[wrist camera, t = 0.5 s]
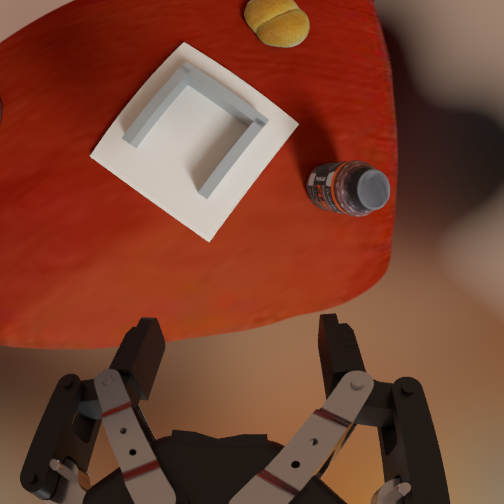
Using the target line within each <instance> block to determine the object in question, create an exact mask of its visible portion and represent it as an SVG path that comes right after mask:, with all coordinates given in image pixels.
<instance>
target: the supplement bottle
mask: <svg viewBox="0 0 504 504" xmlns="http://www.w3.org/2000/svg"><path fill="white" fill-rule="evenodd" d="M306 188H307V193H308V196H309V198H310V200H311V201H312V203H313V204H314V205H316V206H317V207H319V208H321V209H324V210H328V211H333V212H337V213H342V214H346V215H350V216H365V215H368V214H369V213H371V212H372V211H374V210H377V209H380V208H382V207H383V206H384V205H385V204H386V202H387V201H388V199H389V195H390V185H389V181H388V179H387V177H386V176H385V175H384V174H383V173H382V172H381V171H379V170H377V169H375V168H374V167H373V166H371V165H370V164H368V163H366V162H363V161H357V160H354V161H345V162H337V163H329V164H323V165H320V166H318V167H316V168H315V169H313V170H312V172H311V173H310V175H309V177H308V180H307V185H306Z"/></svg>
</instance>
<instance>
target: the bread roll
mask: <svg viewBox="0 0 504 504" xmlns="http://www.w3.org/2000/svg"><path fill="white" fill-rule="evenodd" d="M244 17H245V20H246V22H247V24H248V25H249V27H250V28H251V29H252V30H253V31H254V32H255V33H256V35H257V36H258V38H259V39H260V40H261V41H262V42H263V43H264V44H266V45H270V46H276V47H294V46H296V45H298V44H300V43H301V42H302V41H303V40H304V39H305V38H306V36H307V35H308V32H309V27H310V26H309V20H308V17H307V15H306V14H305V13H304V12H303V11H302V10H301V9H300V8H299V7H298V6H297V5H296V3H295V2H294V1H293V0H251V1H249V2H248V3H247V6H246V8H245V11H244Z"/></svg>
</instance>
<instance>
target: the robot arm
mask: <svg viewBox="0 0 504 504" xmlns="http://www.w3.org/2000/svg"><path fill="white" fill-rule="evenodd" d="M1 116H2V104H1V101H0V121H1ZM318 349H319V356H320V361H321V368H322V374H323V381H324V387H325V393H326V402H325V403H324V404H323V406H322V407H321V408H320V409H319V410H318V409H317V410H315V411H314V412H313V413H312V415H311V416H310V417H309V418H308V419H307V421H306V422H305V423H304V425H303V426H302V427H301V428H300V429H299V430H298V432H297V433H296V434H295V435H294V437H293V438H292V439H291V440H290V441H289V442H288V444H287V445H286V446H283V445H281V444H279V443H277V442H273V441H269V440H268V439H267V434H256V435H255V434H254V435H253V434H251V435H250V434H243V435H237V436H232V437H226V438H220V439H217V438H213V437H209V436H206V435H203V434H200V433H197V432H190V431H180V430H173V431H172V435H171V436H167V437H163V438H160V439H156V438H155V436H154V435H153V433H152V431H151V429H150V427H149V425H148V423H147V421H146V419H145V417H144V415H143V413H142V411H141V409H140V407H139V405H138V403H139V400H140V399H141V400H148V398H149V395H150V392H151V389H152V386H153V383H154V380H155V377H156V374H157V371H158V368H159V365H160V362H161V359H162V357H163V353H164V351H165V340H164V337H163V334H162V331H161V328H160V325H159V322H158V320H157V318H146V317H142V318H141V319H140V321H139V323H138V325H137V327H132V328H131V329H130V330H129V331H128V332H127V333H126V335H125V337H124V339H123V342H122V343H121V345H120V348H119V349H118V351H117V353H116V355H115V357H114V359H113V361H112V363H111V365H110V367H109V369H106V370H103V371H101V372H100V373H99V374H98V375H97V376H96V377H95V379H90V380H83V381H81V380H80V378H79V377H78V376H77V375H75V374H67V375H65V376H63V377H62V378H61V379H60V380H59V382H58V384H57V386H56V388H55V390H54V392H53V394H52V396H51V398H50V401H49V403H48V405H47V407H46V410H45V412H44V414H43V416H42V419H41V421H40V424H39V426H38V428H37V431H36V433H35V436H34V438H33V441H32V443H31V446H30V448H29V451H28V454H27V457H26V460H25V462H24V465H23V468H22V471H21V474H20V482H21V484H22V486H23V488H24V489H26V490H27V491H28V492H30V493H32V494H33V495H35V496H36V497H38V498H39V499H41V500H42V501H44V502H46V503H48V504H347V503H346V502H345V501H344V500H342V499H341V498H340V497H339V496H338V495H337V494H336V493H335V492H334V491H333V490H331V489H330V488H329V487H328V486H327V485H326V484H325V483H324V482H323V481H322V480H321V478H322V477H323V476H324V474H325V473H326V472H327V470H328V469H329V468H330V466H331V464H332V463H333V462H334V460H335V459H336V457H337V455H338V454H339V452H340V451H341V449H342V448H343V446H344V444H345V443H346V442H347V440H348V439H349V437H350V436H351V434H352V432H353V431H354V429H355V428H356V426H357V424H361V425H369V426H376V427H377V428H378V435H379V441H380V448H381V456H382V462H383V472H384V480H385V484H384V485H383V486H382V487H381V488H379V489H378V490H377V491H376V492H375V493H374V495H373V496H372V499H371V504H450V499H449V493H448V487H447V481H446V476H445V471H444V467H443V462H442V458H441V453H440V449H439V445H438V441H437V437H436V433H435V429H434V425H433V422H432V418H431V415H430V411H429V408H428V404H427V401H426V398H425V394H424V391H423V388H422V386H421V384H420V383H419V381H417V380H416V379H414V378H411V377H402V378H399V379H398V380H396V381H395V382H394V384H392V383H384V382H378V381H376V380H373V379H372V377H371V376H370V375H369V374H367V373H366V370H365V367H364V364H363V360H362V357H361V354H360V350H359V347H358V344H357V340H356V337H355V334H354V331H353V329H352V328H351V327H350V326H349V325H348V324H347V323H343V324H339V323H338V319H337V316H336V314H322V315H320V320H319V332H318ZM75 413H76V416H75ZM74 416H75V419H74ZM73 419H74V421H73ZM72 422H73V424H72ZM101 422H103V424H104V427H105V430H106V433H107V435H108V438H109V441H110V444H111V446H112V449H113V451H114V454H115V456H116V459H117V461H118V463H119V466H120V467H119V468H117V469H116V470H115V471H113V472H112V473H110V474H109V475H108V476H106V477H105V478H104V479H102V480H101V481H99V482H98V483H96V484H95V485H93V486H91V484H90V477H89V475H88V473H87V469H88V465H89V462H90V458H91V455H92V451H93V448H94V444H95V441H96V438H97V435H98V432H99V428H100V425H101Z"/></svg>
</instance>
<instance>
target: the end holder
mask: <svg viewBox="0 0 504 504" xmlns="http://www.w3.org/2000/svg"><path fill="white" fill-rule="evenodd" d="M298 125H299V123H297V122H296V121H295V120H294V119H293V118H291V117H290V116H289V115H288V114H286V113H285V112H284V111H283V110H281V109H280V108H279V107H278V106H276V105H275V104H274V103H272V102H271V101H270V100H269V99H267V98H266V97H265V96H263V95H262V94H261V93H259V92H258V91H257V90H255V89H254V88H253V87H251V86H250V85H248V84H247V83H246V82H244V81H243V80H241V79H240V78H239V77H237V76H236V75H234V74H233V73H231V72H230V71H229V70H227V69H226V68H224V67H223V66H221V65H220V64H218V63H217V62H215V61H214V60H212V59H210V58H209V57H207V56H206V55H204V54H203V53H201V52H199V51H198V50H196V49H195V48H193V47H191V46H190V45H188V44H186V43H185V42H183V43H182V44H181V45H180V46H179V47H178V48H177V49H176V50H175V51H174V52H173V53H172V54H171V55H170V56H169V57H168V58H167V59H166V60H165V62H164V63H163V64H162V65H161V66H160V67H159V68H158V69H157V70H156V71H155V72H154V73H153V75H152V76H151V77H150V78H149V79H148V80H147V81H146V82H145V84H144V85H143V86H142V87H141V88H140V89H139V91H138V92H137V93H136V94H135V95H134V97H133V98H132V99H131V100H130V102H129V103H128V104H127V105H126V107H125V108H124V109H123V110H122V112H121V113H120V114H119V116H118V117H117V118H116V120H115V121H114V122H113V124H112V125H111V126H110V128H109V129H108V130H107V132H106V133H105V135H104V136H103V138H102V139H101V140H100V142H99V143H98V145H97V146H96V148H95V149H94V151H93V152H92V154H91V155H90V157H91V158H93V159H94V160H95V161H97V162H98V163H100V164H101V165H102V166H104V167H105V168H106V169H108V170H109V171H110V172H112V173H113V174H115V175H116V176H117V177H119V178H120V179H121V180H123V181H124V182H126V183H127V184H128V185H130V186H131V187H132V188H134V189H135V190H137V191H138V192H139V193H141V194H142V195H143V196H145V197H146V198H148V199H149V200H150V201H152V202H153V203H155V204H156V205H157V206H159V207H160V208H162V209H163V210H164V211H166V212H167V213H169V214H170V215H171V216H173V217H174V218H176V219H177V220H178V221H180V222H181V223H183V224H184V225H185V226H187V227H188V228H190V229H191V230H192V231H194V232H195V233H197V234H198V235H200V236H201V237H202V238H204V239H205V240H207V241H208V242H210V240H211V239H212V238H213V236H214V235H215V234H216V232H217V231H218V229H219V228H220V227H221V225H222V224H223V223H224V221H225V220H226V219H227V217H228V216H229V215H230V213H231V212H232V210H233V209H234V208H235V206H236V205H237V204H238V202H239V201H240V200H241V198H242V197H243V196H244V194H245V193H246V192H247V190H248V189H249V188H250V187H251V185H252V184H253V183H254V181H255V180H256V179H257V177H258V176H259V175H260V173H261V172H262V171H263V170H264V168H265V167H266V166H267V164H268V163H269V162H270V160H271V159H272V158H273V157H274V155H275V154H276V153H277V152H278V150H279V149H280V148H281V146H282V145H283V144H284V143H285V141H286V140H287V139H288V138H289V136H290V135H291V134H292V133H293V131H294V130H295V129H296V128H297V126H298Z"/></svg>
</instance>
